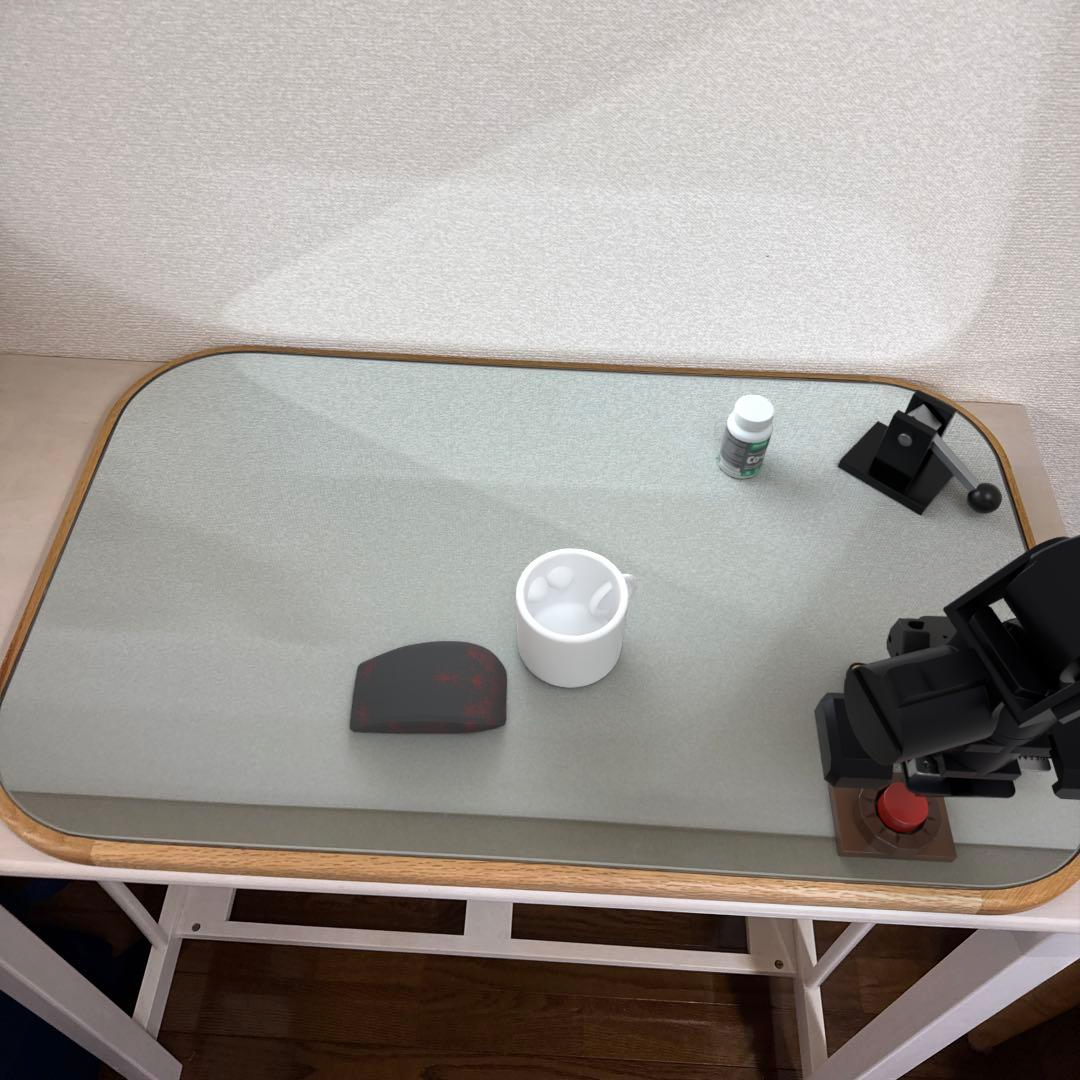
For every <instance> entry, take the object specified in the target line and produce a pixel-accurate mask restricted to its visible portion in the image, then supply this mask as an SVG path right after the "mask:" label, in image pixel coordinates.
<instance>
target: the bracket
mask: <svg viewBox="0 0 1080 1080" xmlns="http://www.w3.org/2000/svg"><path fill="white" fill-rule="evenodd" d="M923 404H924V405H925V406H926V407H927V408H928V409H929V411H930V412H931V413H932V414H933V415H934V416H935V417H936V418H937V420H938V421H939V422H940V423H941V424H942V425H941V426H940V427H939V428H938V429H937V430H935V429H934V428H932V427H930V426H928V425H926V424H924V423H922V422H920V421H919V420H917V419H915V418H913V417H911V416H909V415H907V414H908V413H910V412H911V411H913V410H915V409H916V408H918V407H920V406H921V405H923ZM957 411H958V410H957V409H956V408H955V407H953V406H950V405H949V404H947V403H945V402H943V401H941V400H939V399H937V398H935V397H933V396H932V395H930V394H928V393H925V392H924V391H921V390H920V389H916V391H914V393H913V394H912V395H911V397H910V400H909V402H908V404H907V406H906V409H905V411H901V410H900V409H897V410H896V411H895V412H894V414H893V415H892V417H891V420H890V421H889V423H888V425H887V424H885V423H883V422H882V421H879V420H877V421H876V422H875V423H874V424H873V425H872V426H871V427H870V428H869V429H868V430H867V431H866V432H865V433H864V434H863V436H861V438H859V440H857V442H856V443H855V444H854V445H853V446H852V447H851V448H850V449H849V450H848V451H847V452H846V453H845V454H844V455H843V456H842V457H841V458H840V460H839V462H838V465H837V468H839V469H840V470H842V471H844V472H845V473H847V474H849V475H850V476H852V477H855V478H856V479H858V480H859V481H861V482H863V483H865V484H866V485H868V486H870V487H871V488H873V489H875V490H877V491H878V492H880V493H882V494H883V495H885V496H887V497H888V498H890V499H892V500H894V501H895V502H897V503H899V504H900V505H902V506H903V507H906V508H907V509H909V510H910V511H912V512H914V513H915V514H918V515H919V516H922V515H923V514H924V513H925V512H926V510H928V508H929V507H930V506H931V505H932V503H934V501H935V500H936V499H937V497H938V496H939V495H940V494H941V493H942V492H943V491H944V489H945V488H946V487H947V486H948V484H950V483H951V481H952V480H953V479H954V477H955V476H954V475H953V474H952V472H951V471H950V470H949V469H948V468H947V467H946V466H945V465H944V463H943V462H942V461H941V460H940V459H939V458H938V457H937V455H936V454H935V453H934V452H933V451H932V450H931V449H930V446H931V444H932V442H933V440H934V438H935V436H936V434H938V435H939V436H940V437H941V438H942V439H943V438H944V435H945V434H946V432H947V430H948V428H949V427H950V425H951V423H952V420H953V419H954V417H955V415H956V413H957Z"/></svg>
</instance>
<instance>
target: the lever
mask: <svg viewBox="0 0 1080 1080" xmlns="http://www.w3.org/2000/svg"><path fill="white" fill-rule="evenodd" d="M907 415H909V416H911V417H913V418H915V419H917V420H919V421H920V422H922V423H924V424H926V425H928V426H930V427H932V428H934V429H935V430H937V429H938V428H939V427H940V426H941V425H942V424H941V423H940V422H939V421H938V420H937V418H936V417H935V416H934V415H933V414H932V413H931V412H930V411H929V409H928V408H927V407H926V406H925V405H924V404H923V405H921V406H920V407H918V408H916V409H915V410H913V411H911V412H910V413H908V414H907ZM930 449H931V450H932V451H933V452H934V453H935V454H936V455H937V457H938V458H939V459H940V460H941V461H942V462H943V463H944V465H945V466H946V467H947V468H948V469H949V470H950V471H951V472H952V474H953V475H954V477H955V479H956V480H957V481H959V483H960V485H962V486H963V488H965V490H966V491H967V494H966V502H967V505H968V507H969V508H970V509H971V510H972V511H973V512H975V513H976V514H981V515H988V514H992V513H994V512H995V511H997V510H998V508H999V507H1000V506H1001V504H1002V502H1003V496H1002V495H1003V494H1002V492H1001V489H1000V488H999V487H998V486H996V485H995V484H993V483H991V482H981V481H980V480H979V479H978V478H977V477H976V476H975V475H974V473H973V472H972V471H971V469H969V468H968V467H967V465H966V464H965V463H964V462H963V461H962V460H961V459H960V457H959V456H958V455H957V454H956V453H955V452H954V451H953V449H951V447H950V446H949V445H948V444H947V443H946V441H944V440H943V438H941V437H940V436H939V435H938V434H936V436H935V438H934V440H933V442H932V444H931V446H930Z"/></svg>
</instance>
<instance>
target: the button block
mask: <svg viewBox="0 0 1080 1080" xmlns="http://www.w3.org/2000/svg"><path fill="white" fill-rule="evenodd" d="M899 782H902V783H904V781H903V776H902V771H901V772H900V771H893V776H892V780H891V782H890V783H889V784H888V785H887V786H883V787H879V788H875V789H856V788H836V787H833V786H831V785H830V784H829V783H828V793H829V799H830V807H831V813H832V814H831V815H832V821H833V827H834V833H835V840H836V847H837V848H836V849H837V854H838V857H847V858H848V857H849V858H866V859H881V860H882V859H883V860H884V859H885V860H903V861H917V862H918V861H920V862H921V861H922V862H935V863H936V862H938V863H939V862H940V863H953V862H955V861H956V860H957V859H958V853H957V850H956V846H955V841H954V837H953V833H952V828H951V824H950V819H949V815H948V810H947V806H946V801H945V797H925V798H926V800H927V803H928V815H927V817H926V818H925V820H924V821H923V822H922V823H921V824H920V825H919V826H918V827H917V828H915V829H914V830H912V831H909V832H900V831H896V830H894V829H892V828H890V827H889V826H887V825H886V824H885V823H884V822H883V820H882V819H881V817H880V815H879V813H878V808H877V804H878V800H879V798H880V796H881V795H882V794H883V793H884V791H885V790H886V789H887V788H888V787H889V786H890V785H892V784H894V783H899Z"/></svg>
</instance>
